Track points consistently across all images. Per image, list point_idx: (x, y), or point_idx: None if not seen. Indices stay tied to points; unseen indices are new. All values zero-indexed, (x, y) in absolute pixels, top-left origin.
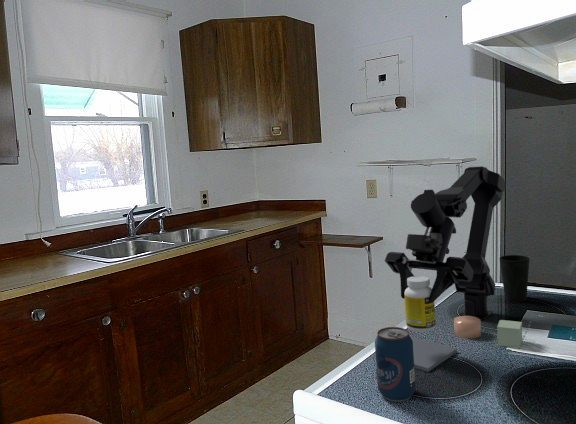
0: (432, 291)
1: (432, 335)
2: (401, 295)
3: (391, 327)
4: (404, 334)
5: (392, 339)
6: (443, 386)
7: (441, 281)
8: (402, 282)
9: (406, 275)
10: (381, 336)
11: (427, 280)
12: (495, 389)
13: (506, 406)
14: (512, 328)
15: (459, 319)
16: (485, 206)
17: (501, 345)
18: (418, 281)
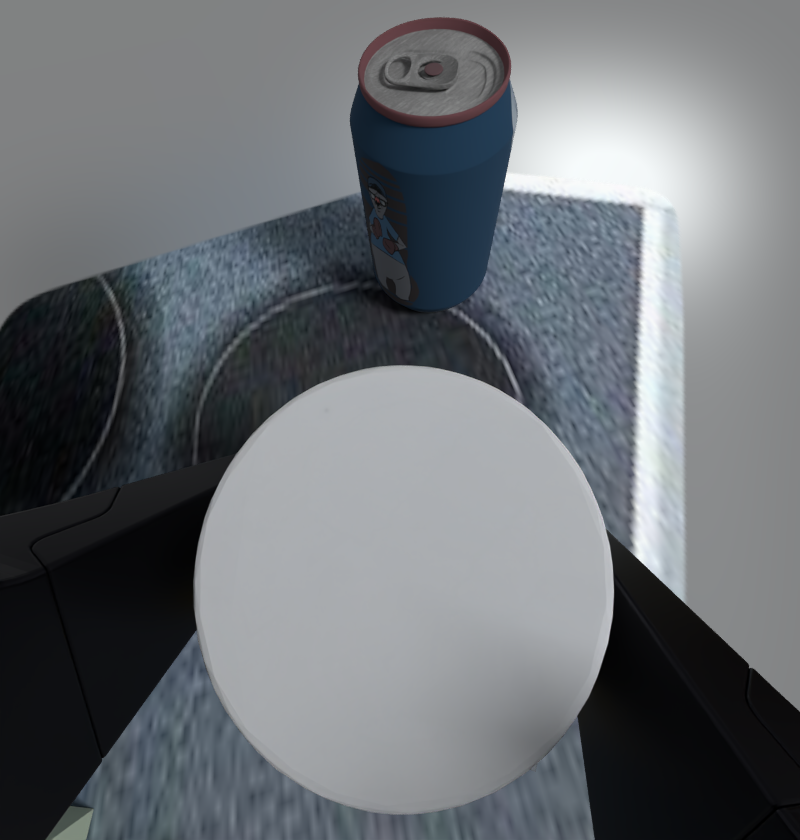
0: (224, 471)
1: None
2: None
3: (464, 112)
4: (382, 91)
5: (415, 25)
6: (308, 354)
7: (6, 524)
8: (700, 645)
9: (747, 825)
10: (469, 21)
11: (221, 482)
12: (160, 384)
13: (144, 308)
14: None
15: None
16: None
17: (75, 808)
18: (355, 377)
